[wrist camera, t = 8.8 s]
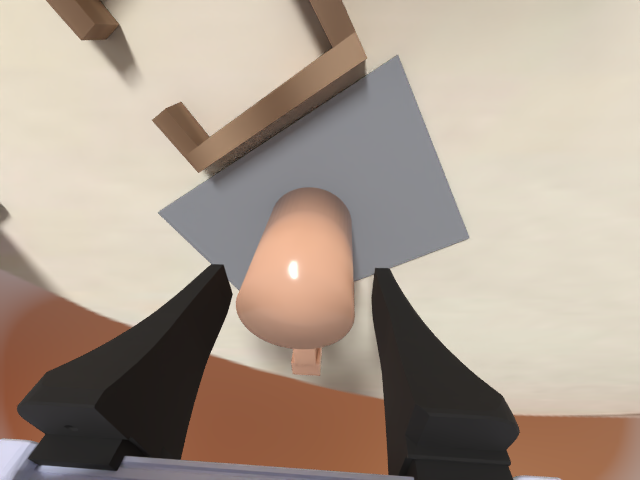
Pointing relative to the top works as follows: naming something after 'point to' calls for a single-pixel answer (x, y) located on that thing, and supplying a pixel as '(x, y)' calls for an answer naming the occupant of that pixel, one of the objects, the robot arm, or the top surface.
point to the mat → (334, 181)
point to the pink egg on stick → (302, 277)
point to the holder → (201, 150)
